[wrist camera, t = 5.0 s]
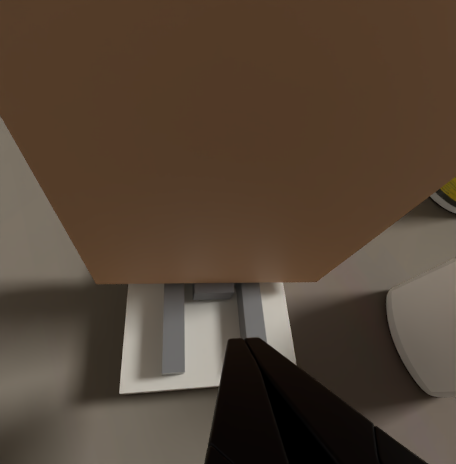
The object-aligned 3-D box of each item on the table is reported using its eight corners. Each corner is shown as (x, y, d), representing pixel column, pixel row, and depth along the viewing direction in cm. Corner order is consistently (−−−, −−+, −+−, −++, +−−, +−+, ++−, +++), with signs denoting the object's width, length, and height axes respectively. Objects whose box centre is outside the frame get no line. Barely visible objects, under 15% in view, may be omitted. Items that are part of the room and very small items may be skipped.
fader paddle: (308, 297, 14) (879, -97, 3) (99, 302, 12) (-574, -752, 1) (298, 250, 15) (679, -163, 4) (106, 247, 13) (-176, -530, 2)
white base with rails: (282, 381, 14) (309, 377, 11) (124, 394, 13) (115, 393, 10) (247, 143, 21) (260, 108, 19) (144, 134, 20) (142, 94, 17)
